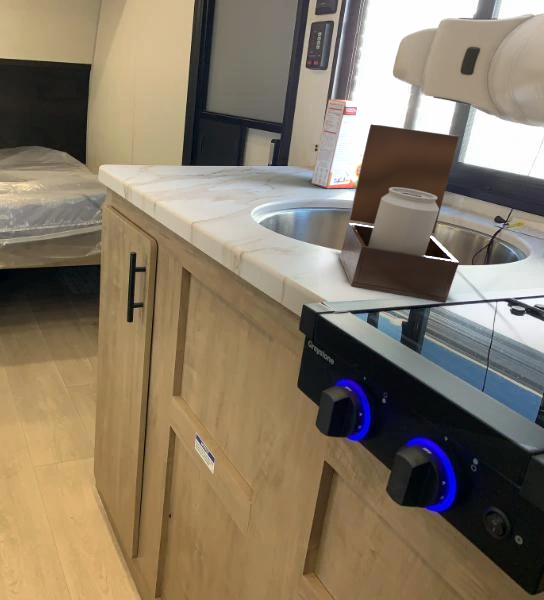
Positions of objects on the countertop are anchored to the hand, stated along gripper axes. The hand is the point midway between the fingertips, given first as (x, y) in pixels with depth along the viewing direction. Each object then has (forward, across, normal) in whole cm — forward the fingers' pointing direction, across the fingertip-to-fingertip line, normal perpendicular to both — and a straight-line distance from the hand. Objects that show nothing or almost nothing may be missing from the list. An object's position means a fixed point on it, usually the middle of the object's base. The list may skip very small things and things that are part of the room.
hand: (482, 70), depth 64 cm
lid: (+20, 0, +15) cm, 25 cm away
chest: (+12, 0, +28) cm, 30 cm away
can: (+12, 0, +28) cm, 30 cm away
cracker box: (+87, -1, +28) cm, 91 cm away
